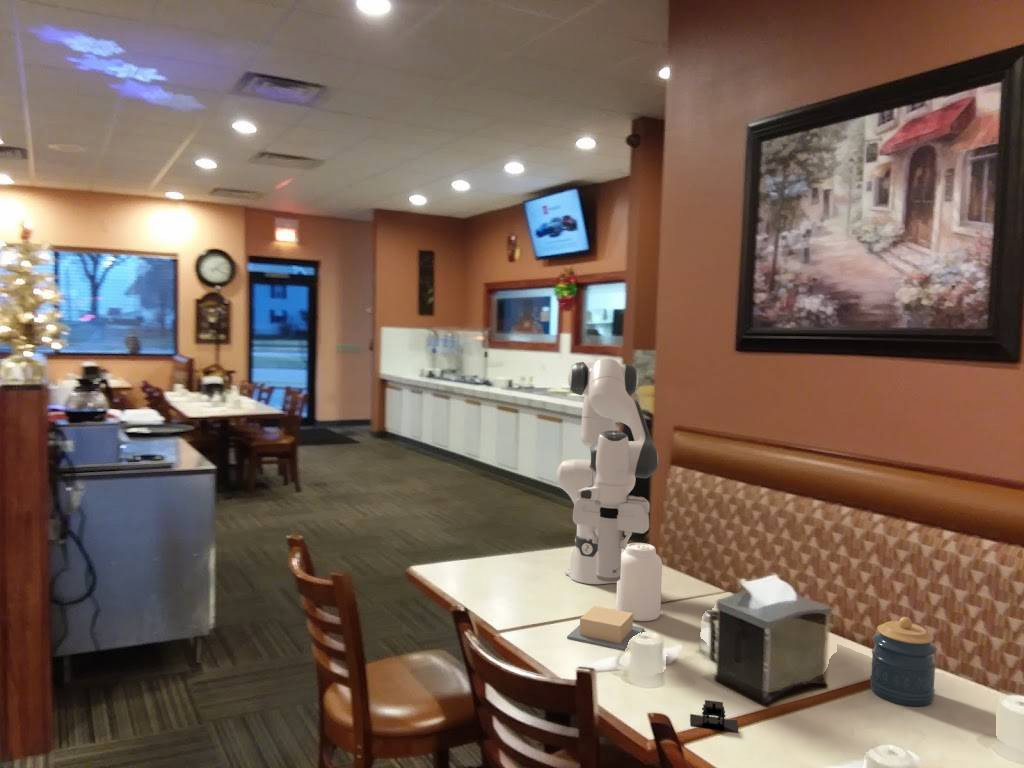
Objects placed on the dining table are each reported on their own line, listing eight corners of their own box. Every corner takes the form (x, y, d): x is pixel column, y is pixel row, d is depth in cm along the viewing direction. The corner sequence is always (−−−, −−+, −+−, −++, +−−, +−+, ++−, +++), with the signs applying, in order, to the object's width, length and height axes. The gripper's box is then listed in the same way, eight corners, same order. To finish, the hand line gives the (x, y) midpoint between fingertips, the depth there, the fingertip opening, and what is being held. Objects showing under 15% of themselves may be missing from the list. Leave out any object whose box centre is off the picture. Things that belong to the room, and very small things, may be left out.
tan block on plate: (588, 619, 214) (589, 601, 214) (644, 630, 207) (644, 611, 207) (567, 638, 200) (567, 619, 199) (626, 650, 193) (626, 631, 192)
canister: (860, 680, 180) (864, 606, 179) (916, 682, 179) (920, 608, 178) (885, 706, 167) (889, 627, 166) (945, 709, 166) (950, 629, 165)
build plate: (682, 730, 155) (682, 708, 155) (682, 713, 162) (682, 692, 162) (745, 738, 152) (746, 715, 152) (743, 721, 159) (744, 699, 159)
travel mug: (620, 583, 199) (623, 507, 198) (595, 580, 200) (598, 505, 199) (622, 576, 205) (625, 502, 204) (597, 574, 206) (600, 500, 205)
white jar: (668, 614, 220) (671, 546, 218) (644, 625, 210) (647, 554, 209) (632, 603, 228) (634, 537, 227) (607, 613, 219) (609, 544, 218)
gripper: (653, 495, 200) (651, 548, 200) (579, 487, 209) (578, 537, 209) (646, 500, 194) (644, 553, 195) (571, 491, 203) (569, 542, 204)
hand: (609, 545), depth 202 cm, fingers closed on travel mug, 6 cm apart
